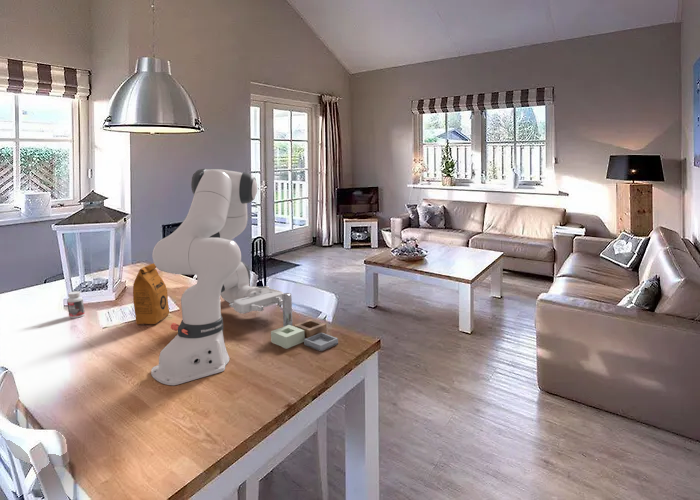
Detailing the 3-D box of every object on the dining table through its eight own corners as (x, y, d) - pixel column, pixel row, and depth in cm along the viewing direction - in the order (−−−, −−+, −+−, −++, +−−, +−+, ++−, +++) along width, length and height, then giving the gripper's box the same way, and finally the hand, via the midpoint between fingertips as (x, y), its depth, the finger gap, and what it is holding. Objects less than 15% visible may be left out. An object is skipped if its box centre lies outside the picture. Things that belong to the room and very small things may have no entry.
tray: (320, 351, 147) (320, 345, 146) (304, 344, 152) (304, 339, 151) (338, 343, 152) (337, 338, 152) (321, 337, 158) (321, 332, 157)
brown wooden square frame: (309, 341, 154) (309, 330, 154) (294, 335, 160) (293, 324, 159) (326, 334, 160) (326, 324, 159) (311, 329, 165) (310, 318, 165)
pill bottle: (68, 319, 177) (65, 295, 175) (69, 315, 182) (66, 291, 180) (84, 317, 180) (81, 293, 178) (85, 313, 184) (82, 289, 182)
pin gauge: (287, 334, 161) (286, 296, 158) (281, 331, 163) (280, 294, 160) (294, 331, 163) (293, 294, 161) (288, 329, 166) (287, 292, 163)
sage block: (286, 348, 149) (286, 337, 148) (271, 342, 154) (270, 331, 153) (304, 341, 155) (304, 330, 154) (289, 335, 160) (288, 324, 159)
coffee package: (174, 315, 181) (169, 261, 176) (156, 327, 169) (150, 269, 164) (151, 314, 182) (145, 261, 178) (131, 325, 170) (125, 268, 166)
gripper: (226, 296, 168) (248, 304, 159) (270, 285, 183) (292, 291, 174) (227, 312, 169) (249, 321, 160) (270, 300, 184) (293, 307, 175)
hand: (272, 305), depth 167 cm, fingers open, 8 cm apart
